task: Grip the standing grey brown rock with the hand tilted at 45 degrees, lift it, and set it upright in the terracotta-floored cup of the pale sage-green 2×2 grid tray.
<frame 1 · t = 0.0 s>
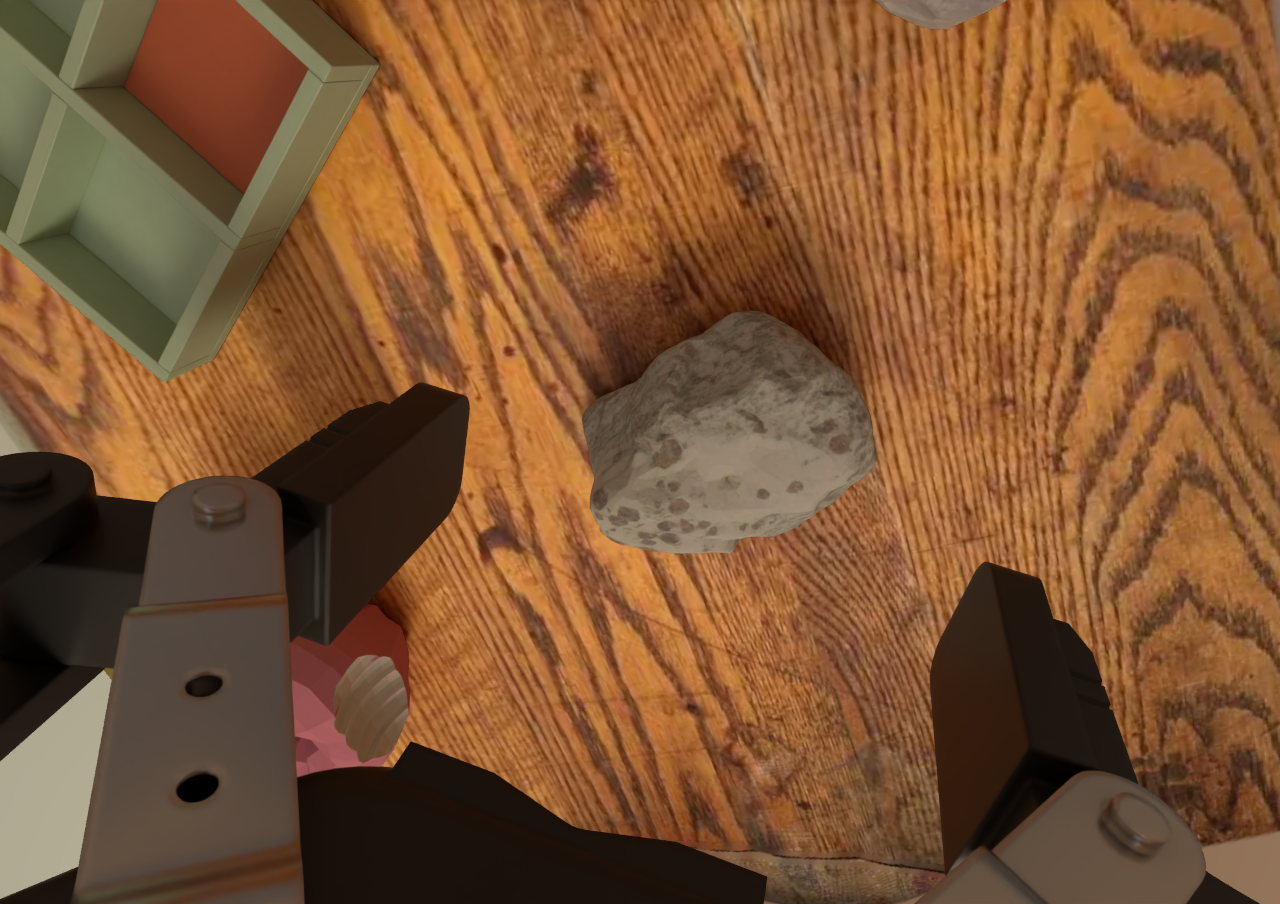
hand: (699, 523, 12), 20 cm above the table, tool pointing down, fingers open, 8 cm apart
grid: (128, 87, 34), on the table
decorative stone: (722, 430, 34), on the table
apple: (374, 625, 45), on the table
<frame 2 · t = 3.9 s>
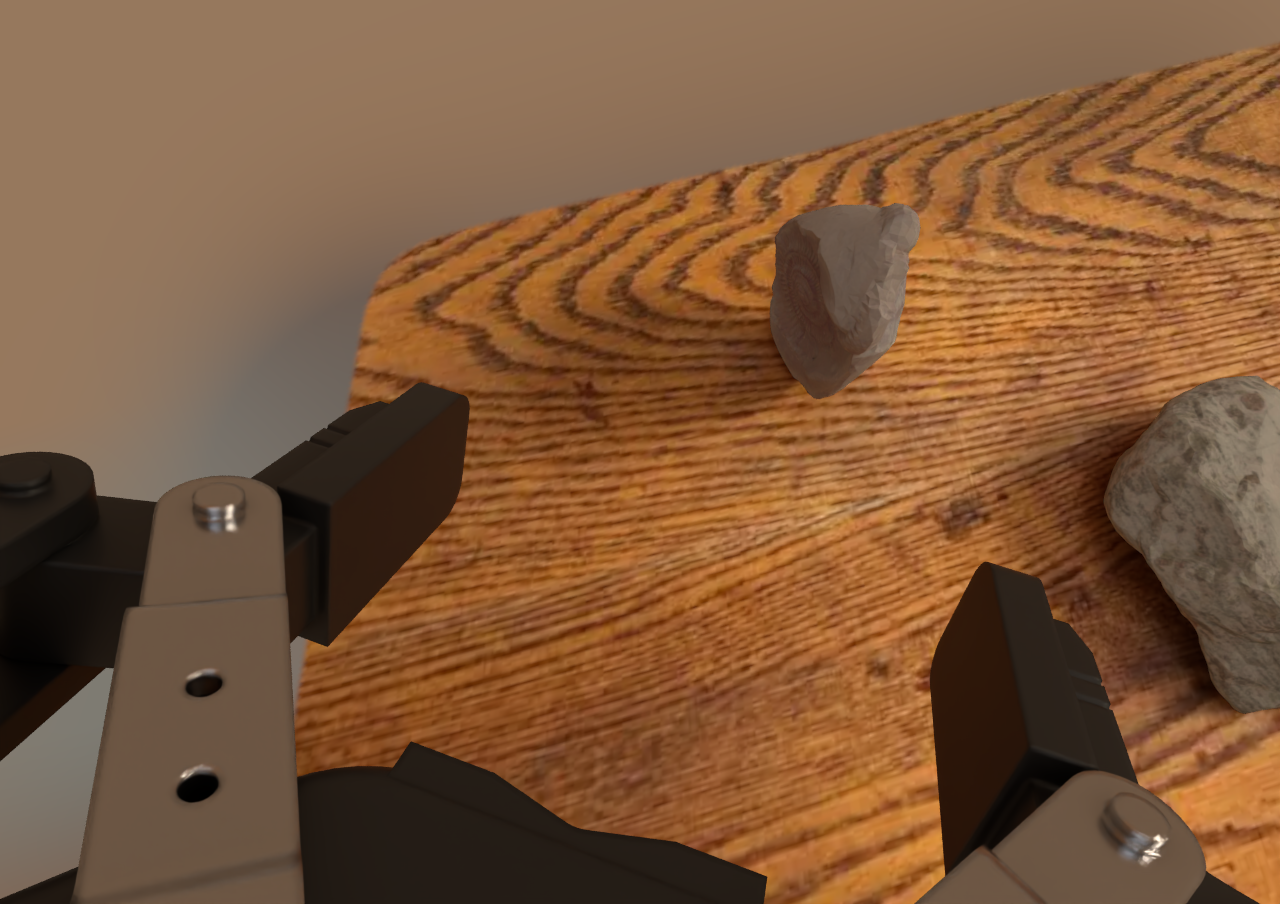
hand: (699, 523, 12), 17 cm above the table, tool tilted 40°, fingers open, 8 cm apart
decorative stone: (1220, 555, 31), on the table
grey brown rock: (799, 345, 32), on the table
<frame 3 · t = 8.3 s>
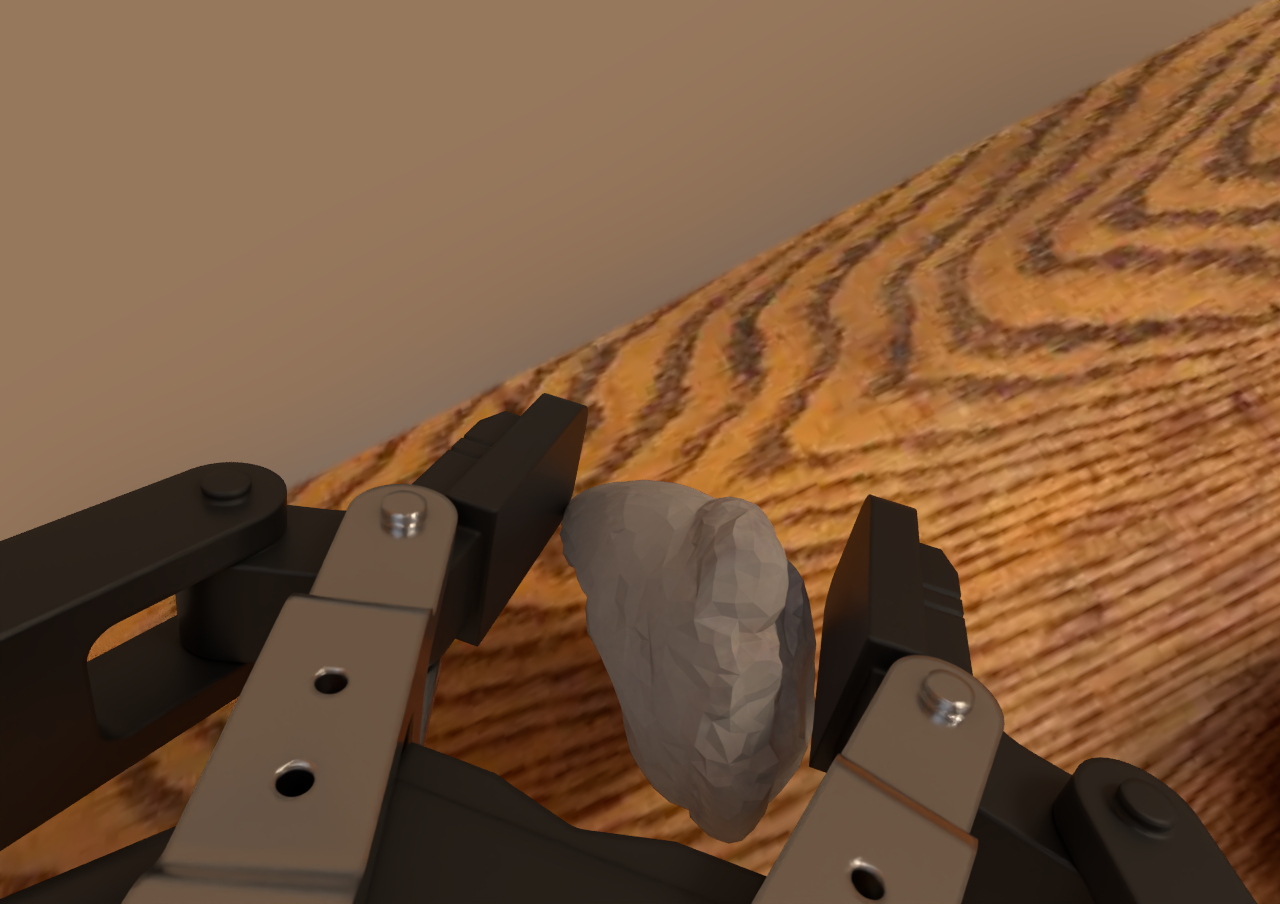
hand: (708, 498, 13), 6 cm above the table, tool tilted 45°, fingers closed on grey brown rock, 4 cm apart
grey brown rock: (678, 649, 18), on the table, touching gripper
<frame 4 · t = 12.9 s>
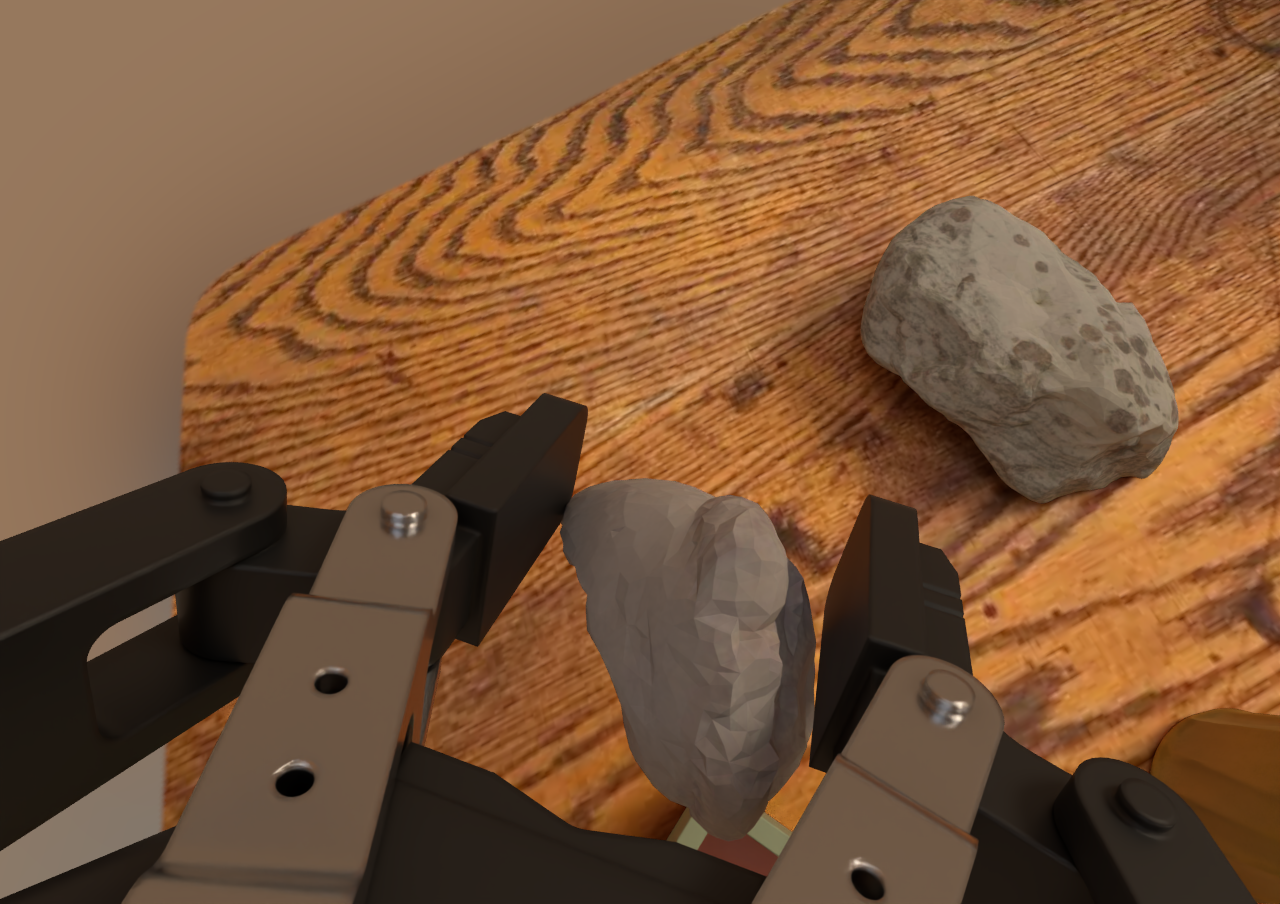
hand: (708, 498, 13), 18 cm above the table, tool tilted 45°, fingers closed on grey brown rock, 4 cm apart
vase: (1234, 800, 28), on the table
decorative stone: (999, 370, 33), on the table
grey brown rock: (677, 648, 19), point 12 cm above the table, touching gripper
when the fingers open (7 cm above the table, at t = 17.7 s): grey brown rock stays where it is, resting on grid.
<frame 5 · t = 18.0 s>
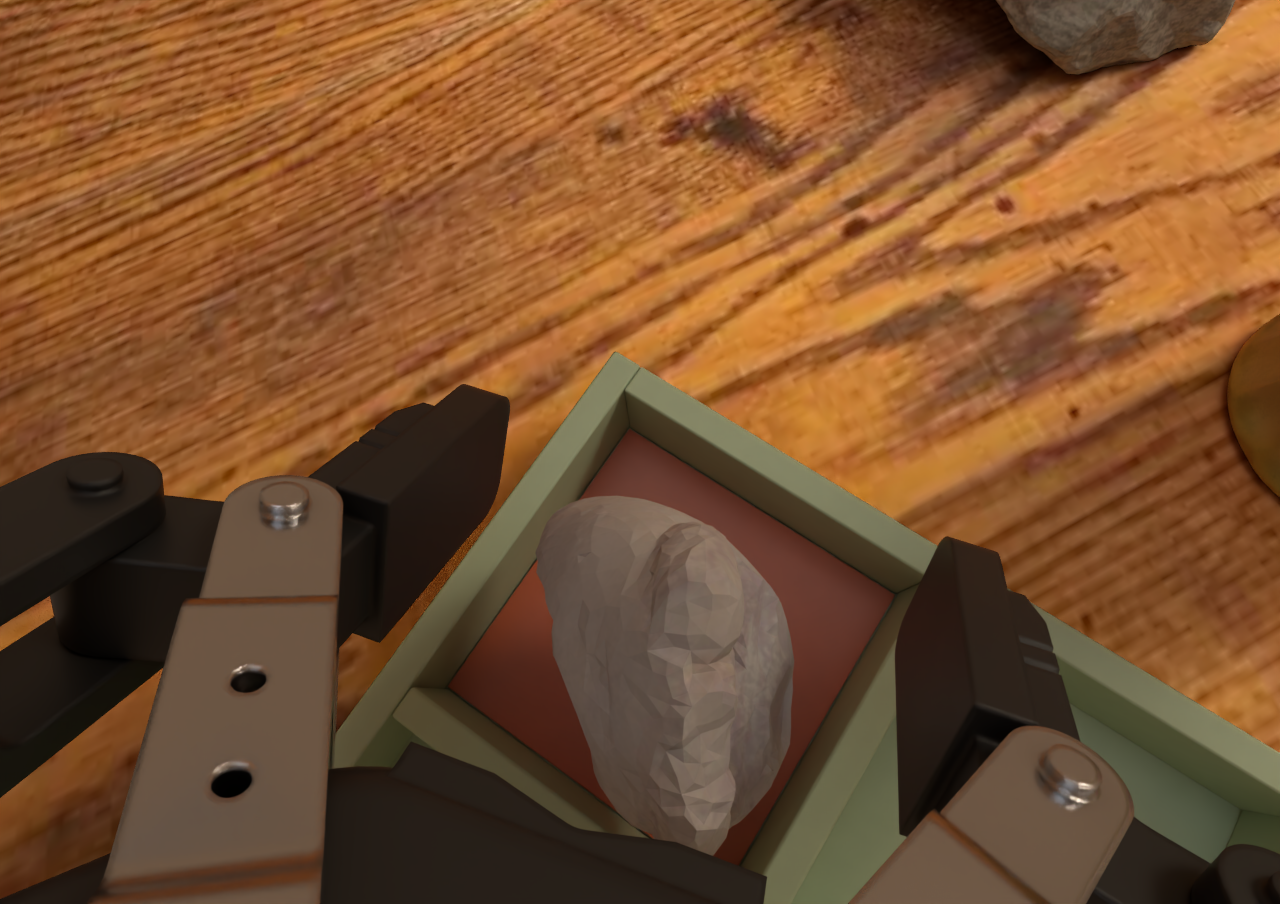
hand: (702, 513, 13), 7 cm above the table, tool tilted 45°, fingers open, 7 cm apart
grey brown rock: (674, 654, 19), point 1 cm above the table, touching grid
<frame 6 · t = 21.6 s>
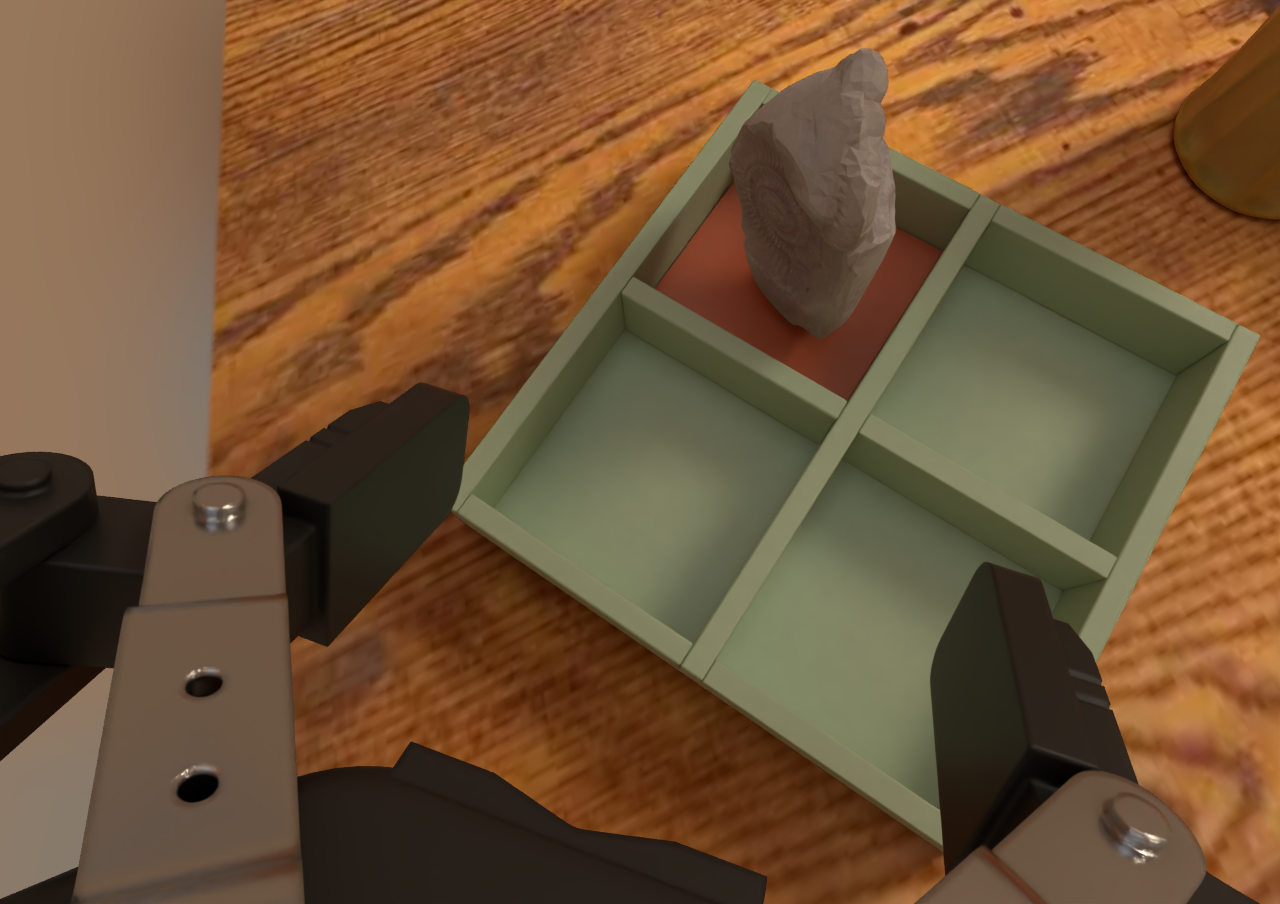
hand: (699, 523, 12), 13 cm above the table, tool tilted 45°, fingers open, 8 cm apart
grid: (832, 449, 26), on the table
vase: (1255, 152, 29), on the table
grey brown rock: (792, 292, 27), point 1 cm above the table, touching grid
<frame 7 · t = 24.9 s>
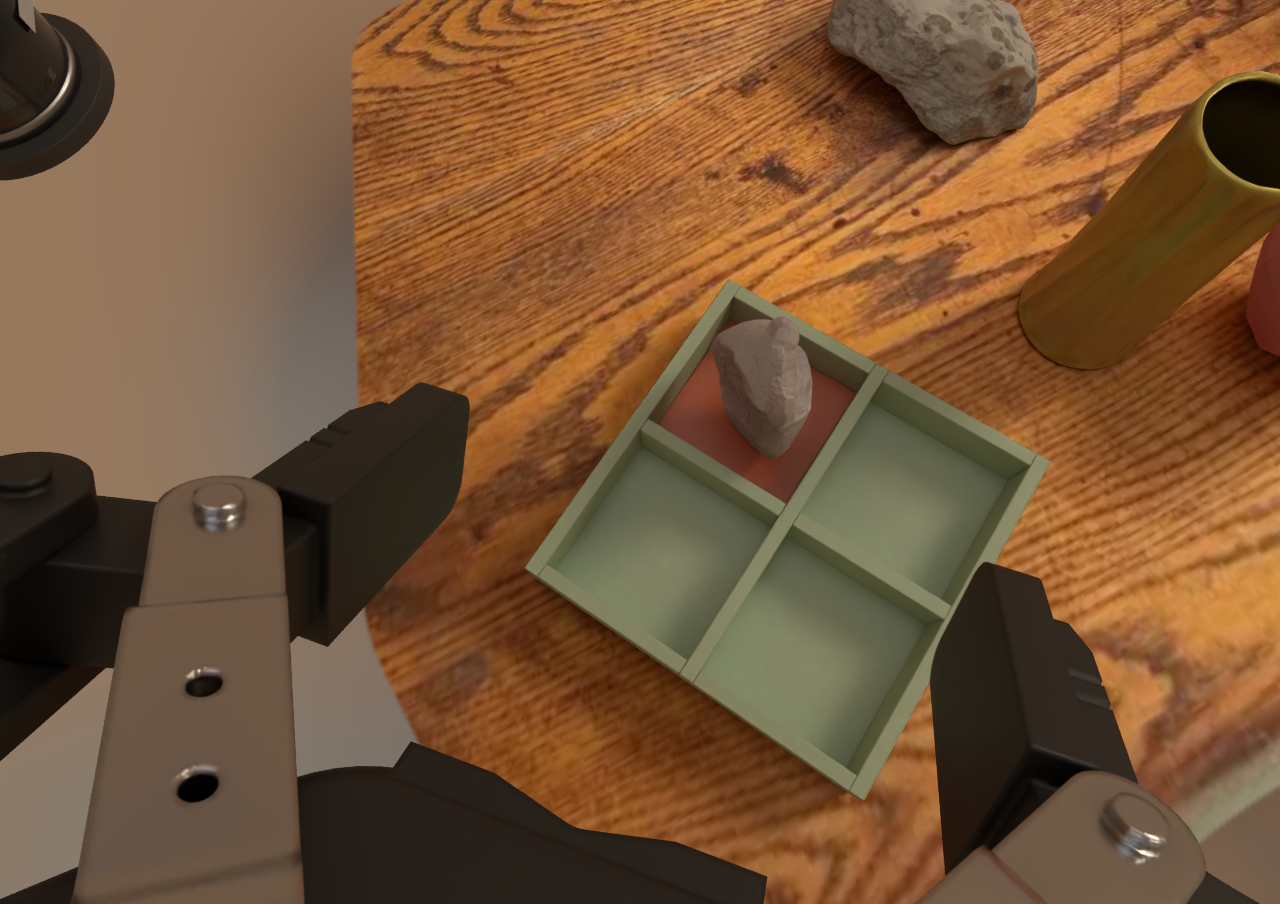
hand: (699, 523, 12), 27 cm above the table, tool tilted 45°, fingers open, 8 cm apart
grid: (780, 528, 39), on the table
vase: (1075, 318, 42), on the table
decorative stone: (925, 69, 47), on the table
grey brown rock: (754, 420, 40), point 1 cm above the table, touching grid
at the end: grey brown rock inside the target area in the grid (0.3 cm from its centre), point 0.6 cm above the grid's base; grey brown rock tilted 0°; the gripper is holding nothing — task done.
